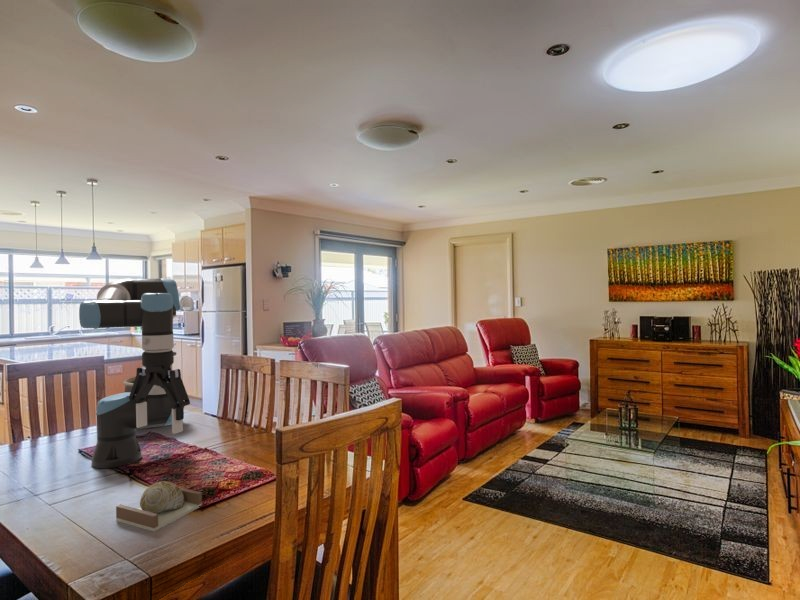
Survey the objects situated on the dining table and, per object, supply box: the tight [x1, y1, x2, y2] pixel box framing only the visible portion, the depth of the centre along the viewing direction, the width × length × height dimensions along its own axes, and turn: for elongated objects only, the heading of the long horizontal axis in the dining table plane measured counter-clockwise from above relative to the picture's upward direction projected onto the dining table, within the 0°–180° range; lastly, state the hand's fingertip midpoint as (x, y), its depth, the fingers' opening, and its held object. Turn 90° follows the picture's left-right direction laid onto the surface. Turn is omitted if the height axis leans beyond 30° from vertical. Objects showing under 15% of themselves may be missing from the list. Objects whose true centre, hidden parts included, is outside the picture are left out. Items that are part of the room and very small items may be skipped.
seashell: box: [139, 480, 184, 514], centre depth 125 cm, size 10×10×10 cm
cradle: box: [115, 486, 203, 532], centre depth 125 cm, size 14×15×4 cm
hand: (159, 429), depth 125 cm, fingers open, 13 cm apart
